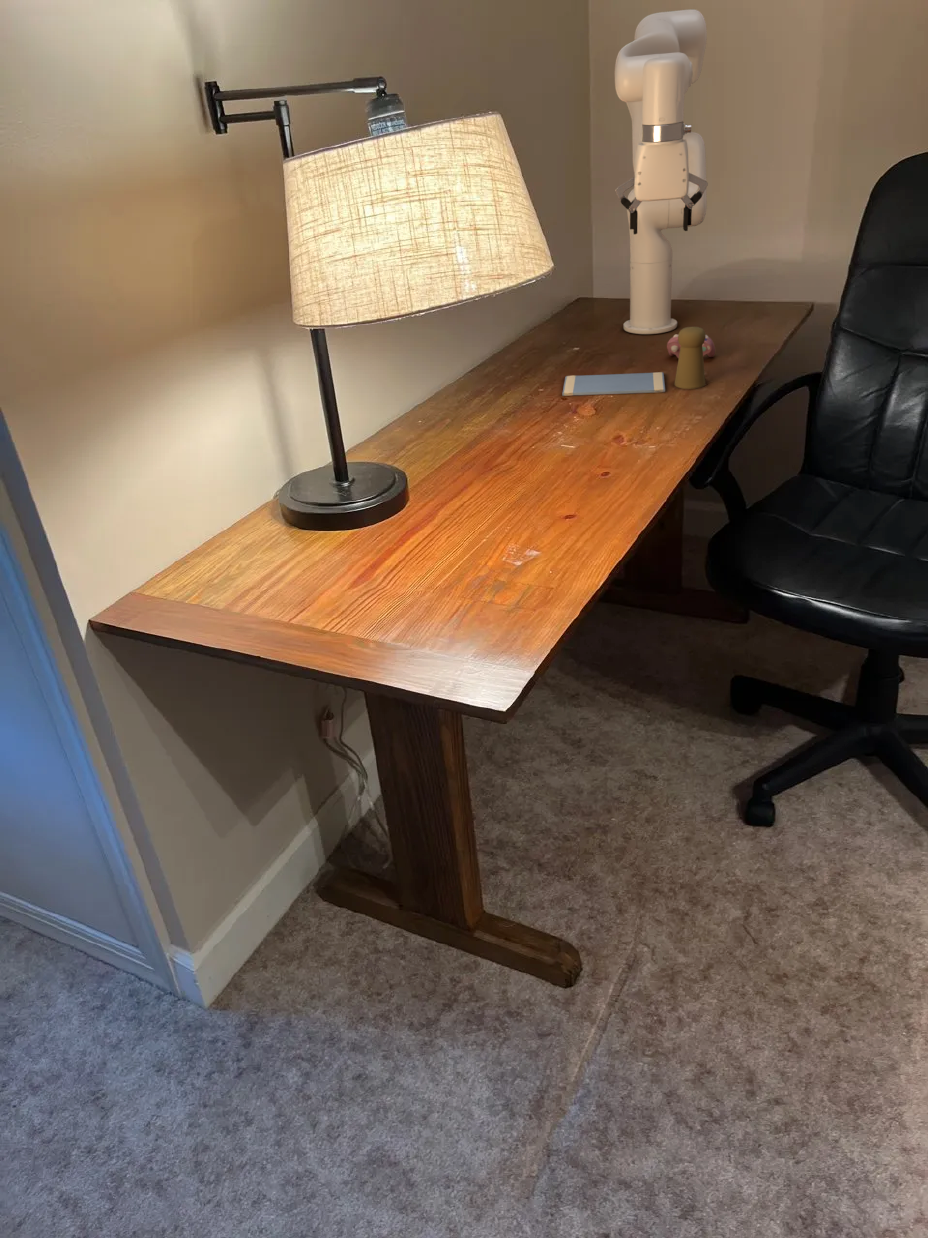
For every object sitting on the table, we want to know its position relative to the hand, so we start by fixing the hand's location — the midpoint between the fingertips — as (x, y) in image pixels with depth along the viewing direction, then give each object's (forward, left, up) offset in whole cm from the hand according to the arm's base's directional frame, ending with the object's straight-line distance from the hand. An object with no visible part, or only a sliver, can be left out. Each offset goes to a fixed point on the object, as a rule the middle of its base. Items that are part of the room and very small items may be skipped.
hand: (660, 231), depth 183 cm
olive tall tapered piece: (+13, +6, -27) cm, 30 cm away
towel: (+12, -9, -27) cm, 30 cm away
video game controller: (-4, +7, -27) cm, 28 cm away
